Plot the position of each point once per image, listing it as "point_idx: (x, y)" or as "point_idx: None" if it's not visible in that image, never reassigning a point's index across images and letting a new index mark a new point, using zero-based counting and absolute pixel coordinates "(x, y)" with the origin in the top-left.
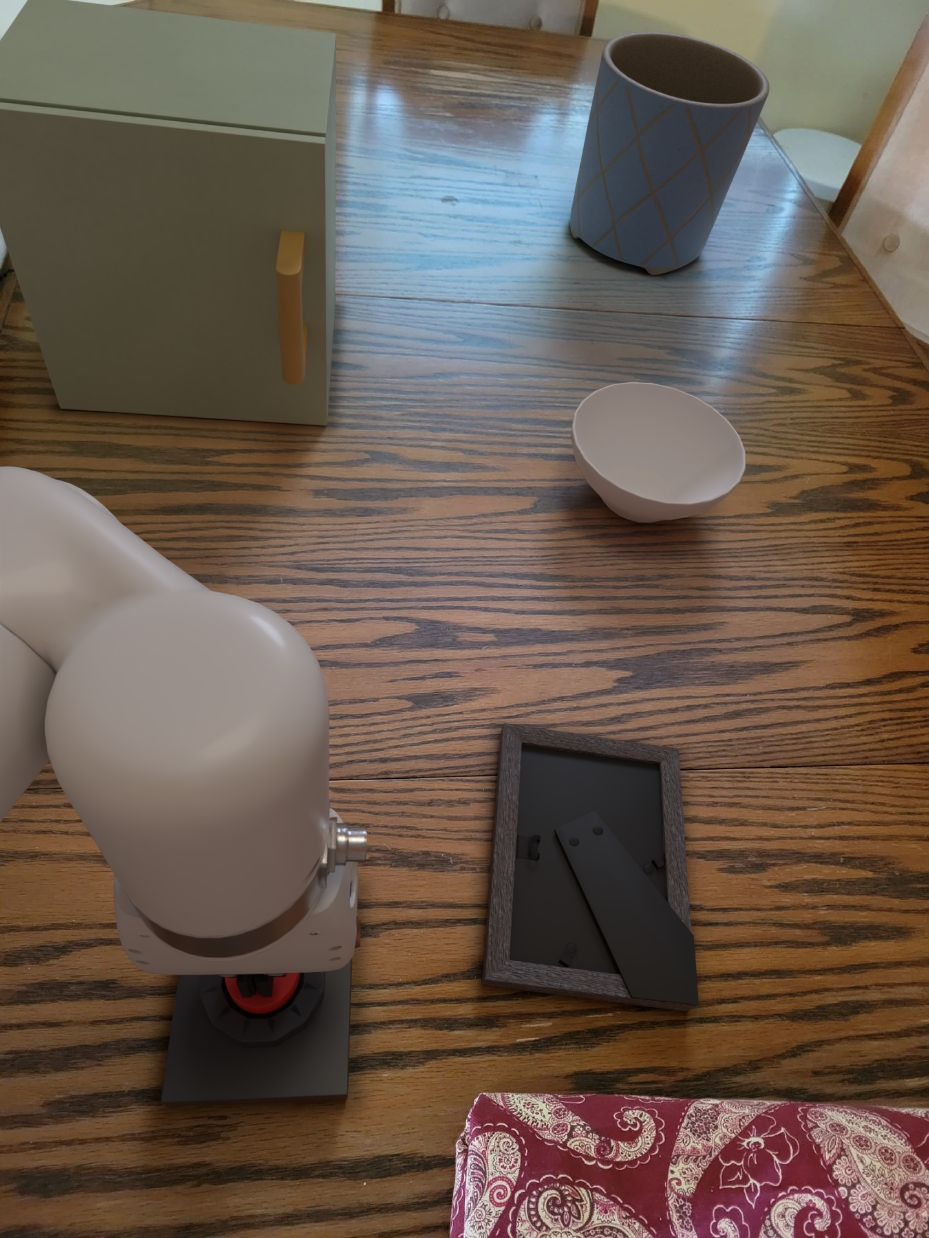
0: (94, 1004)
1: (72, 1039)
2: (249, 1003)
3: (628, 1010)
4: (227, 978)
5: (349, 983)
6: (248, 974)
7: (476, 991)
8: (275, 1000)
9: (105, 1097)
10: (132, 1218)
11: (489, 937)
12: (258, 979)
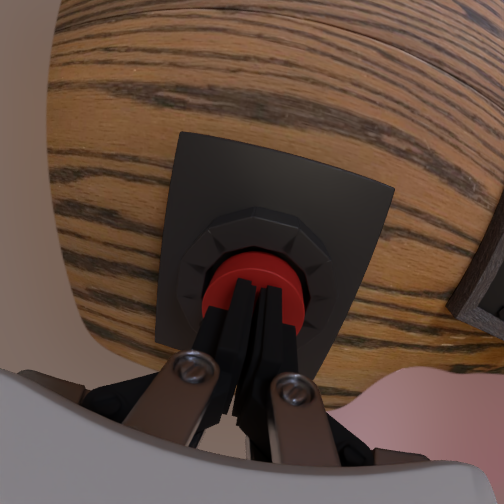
0: (103, 228)
1: (93, 252)
2: None
3: None
4: (204, 314)
5: (350, 304)
6: (222, 412)
7: (439, 309)
8: None
9: (122, 300)
10: (152, 366)
11: (476, 286)
12: (237, 424)
